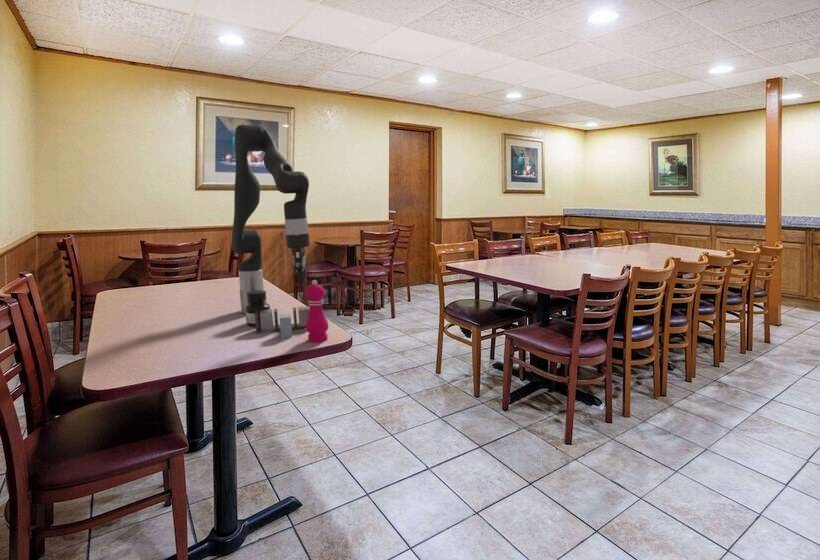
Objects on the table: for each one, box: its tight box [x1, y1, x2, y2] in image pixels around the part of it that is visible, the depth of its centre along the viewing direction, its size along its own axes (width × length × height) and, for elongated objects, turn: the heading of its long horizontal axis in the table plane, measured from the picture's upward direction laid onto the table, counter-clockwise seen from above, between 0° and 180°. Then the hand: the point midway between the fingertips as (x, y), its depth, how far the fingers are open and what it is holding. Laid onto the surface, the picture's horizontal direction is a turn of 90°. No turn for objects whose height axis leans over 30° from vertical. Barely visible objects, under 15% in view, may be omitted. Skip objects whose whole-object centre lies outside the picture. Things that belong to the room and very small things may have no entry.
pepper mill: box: [305, 279, 329, 343], centre depth 159 cm, size 7×7×20 cm
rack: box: [255, 305, 310, 334], centre depth 174 cm, size 20×5×7 cm, turn 104°
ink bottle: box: [244, 290, 271, 327], centre depth 182 cm, size 10×9×12 cm
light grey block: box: [279, 313, 293, 339], centre depth 166 cm, size 4×5×7 cm
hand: (301, 281), depth 164 cm, fingers open, 8 cm apart
